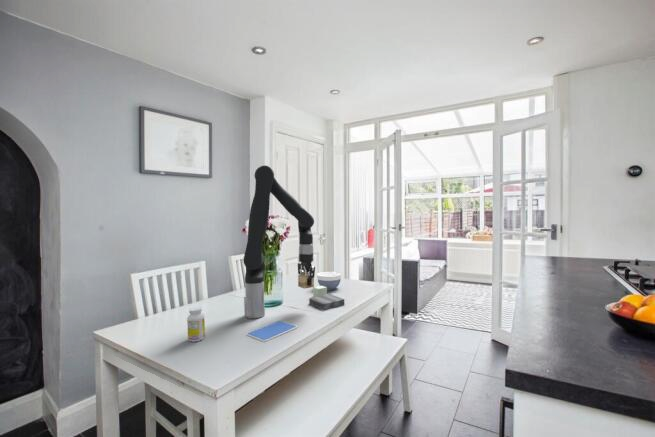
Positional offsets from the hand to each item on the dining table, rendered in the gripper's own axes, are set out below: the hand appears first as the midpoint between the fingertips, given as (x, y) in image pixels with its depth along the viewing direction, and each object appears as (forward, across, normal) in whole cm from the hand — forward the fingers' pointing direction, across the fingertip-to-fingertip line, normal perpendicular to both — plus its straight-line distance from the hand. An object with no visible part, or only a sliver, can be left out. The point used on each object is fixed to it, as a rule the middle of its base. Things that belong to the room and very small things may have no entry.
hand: (306, 284), depth 169 cm
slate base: (+13, -2, +14) cm, 20 cm away
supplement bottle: (+15, +3, -56) cm, 58 cm away
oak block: (+1, 0, 0) cm, 1 cm away
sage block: (+14, -15, +20) cm, 28 cm away
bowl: (+14, -28, +36) cm, 47 cm away
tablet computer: (+15, +15, -27) cm, 34 cm away
